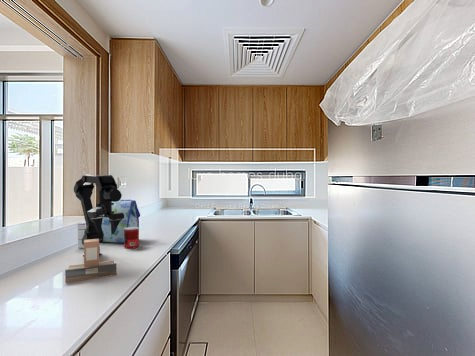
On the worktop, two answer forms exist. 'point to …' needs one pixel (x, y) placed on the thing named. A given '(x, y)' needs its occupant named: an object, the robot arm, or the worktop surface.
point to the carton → (91, 252)
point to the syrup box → (81, 233)
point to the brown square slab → (90, 271)
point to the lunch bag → (129, 220)
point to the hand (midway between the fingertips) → (105, 233)
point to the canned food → (131, 237)
